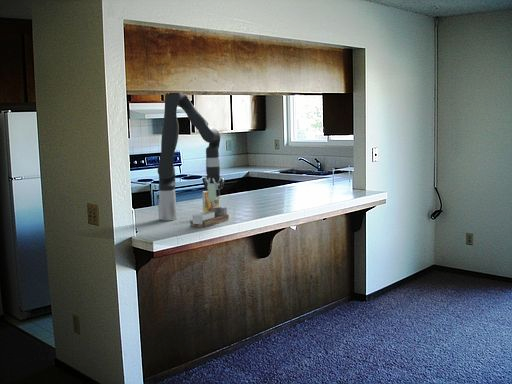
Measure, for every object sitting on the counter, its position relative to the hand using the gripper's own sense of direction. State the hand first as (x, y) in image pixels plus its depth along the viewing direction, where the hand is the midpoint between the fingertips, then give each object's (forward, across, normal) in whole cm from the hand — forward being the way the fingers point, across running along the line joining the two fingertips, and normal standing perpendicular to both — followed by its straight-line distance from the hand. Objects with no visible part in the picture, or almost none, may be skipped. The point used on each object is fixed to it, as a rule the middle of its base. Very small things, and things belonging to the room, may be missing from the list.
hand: (214, 195), depth 338 cm
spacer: (+2, 0, 0) cm, 2 cm away
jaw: (+13, 0, -11) cm, 17 cm away
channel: (+14, 0, -5) cm, 15 cm away
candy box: (+15, -10, +11) cm, 21 cm away
